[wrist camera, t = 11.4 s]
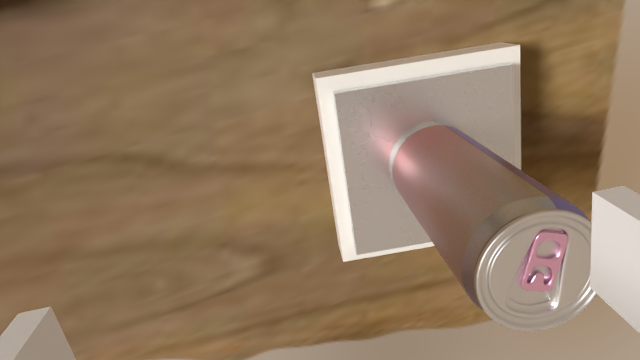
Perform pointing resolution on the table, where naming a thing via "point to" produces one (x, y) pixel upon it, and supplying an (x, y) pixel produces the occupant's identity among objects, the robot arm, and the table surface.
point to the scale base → (388, 73)
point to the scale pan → (397, 125)
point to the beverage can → (497, 229)
